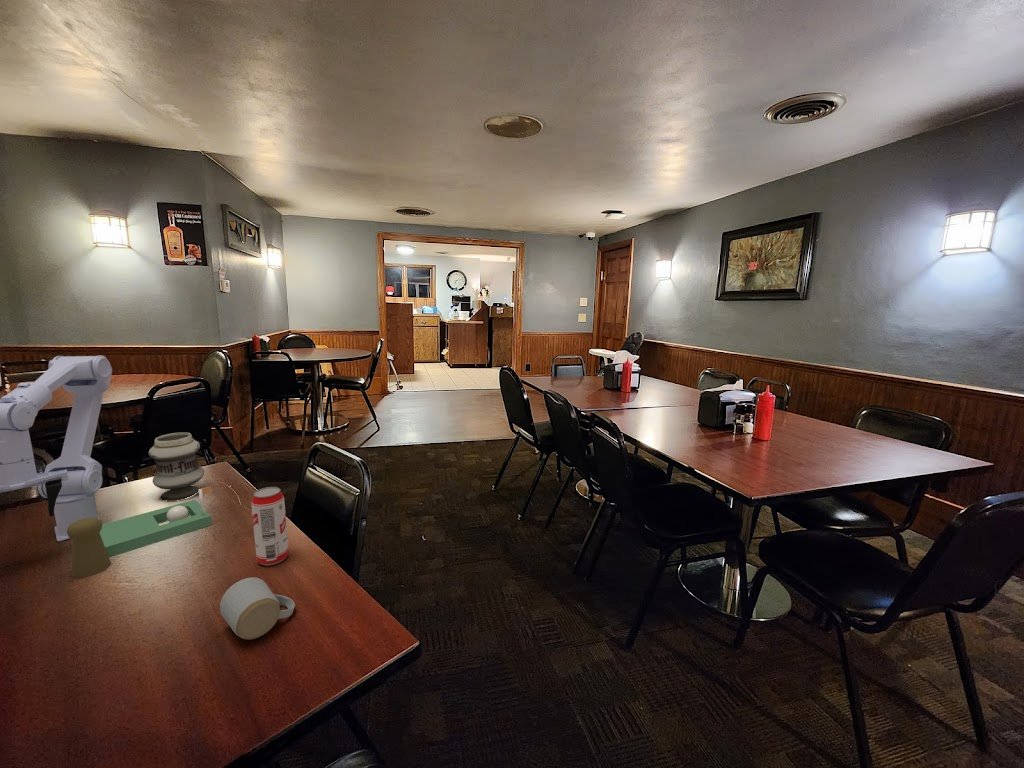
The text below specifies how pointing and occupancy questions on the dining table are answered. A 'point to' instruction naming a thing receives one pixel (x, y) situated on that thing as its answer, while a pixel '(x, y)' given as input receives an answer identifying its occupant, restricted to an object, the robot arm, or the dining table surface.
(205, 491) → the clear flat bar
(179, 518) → the egg
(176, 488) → the apothecary jar
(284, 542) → the beer can
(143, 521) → the green
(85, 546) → the cork
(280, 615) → the ceramic mug
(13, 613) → the dining table surface
